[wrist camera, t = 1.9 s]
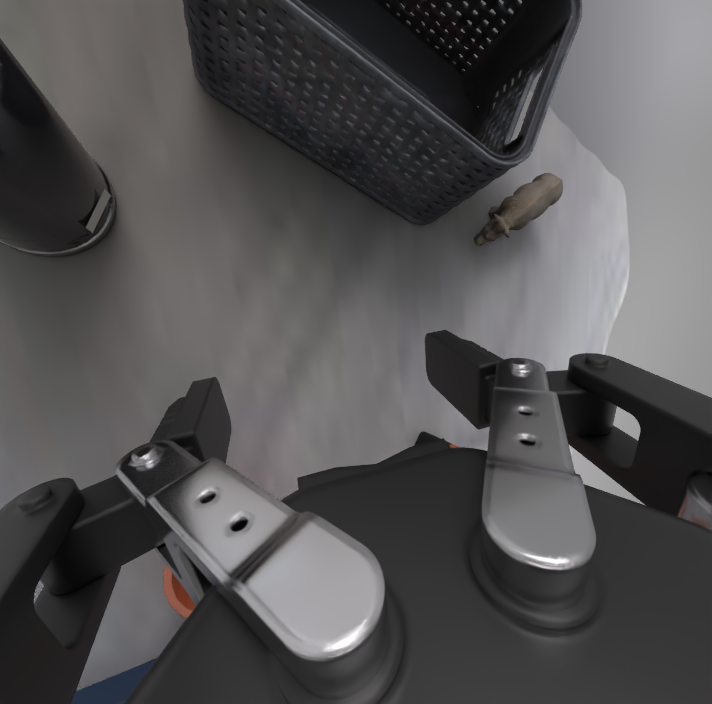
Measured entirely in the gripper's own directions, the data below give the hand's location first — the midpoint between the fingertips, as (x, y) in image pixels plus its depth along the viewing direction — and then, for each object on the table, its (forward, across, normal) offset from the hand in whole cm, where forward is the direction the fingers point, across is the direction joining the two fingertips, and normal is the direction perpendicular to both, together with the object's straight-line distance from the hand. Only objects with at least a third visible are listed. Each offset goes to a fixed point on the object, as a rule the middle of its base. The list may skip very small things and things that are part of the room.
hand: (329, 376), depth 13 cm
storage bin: (+30, -11, -18) cm, 37 cm away
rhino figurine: (+28, -27, -3) cm, 39 cm away
